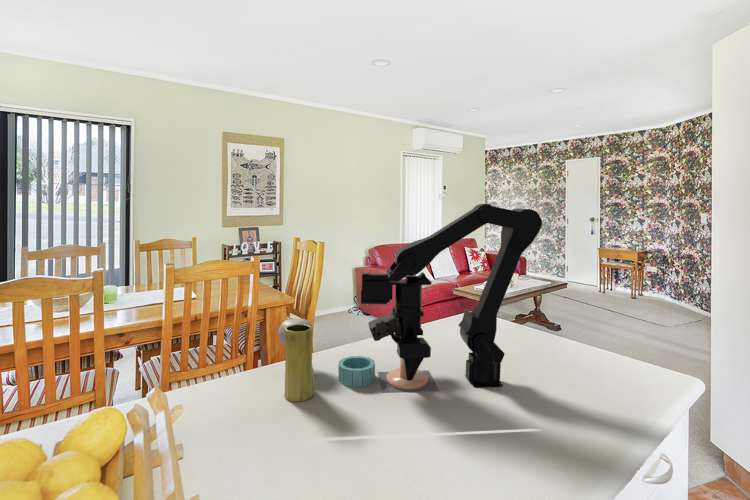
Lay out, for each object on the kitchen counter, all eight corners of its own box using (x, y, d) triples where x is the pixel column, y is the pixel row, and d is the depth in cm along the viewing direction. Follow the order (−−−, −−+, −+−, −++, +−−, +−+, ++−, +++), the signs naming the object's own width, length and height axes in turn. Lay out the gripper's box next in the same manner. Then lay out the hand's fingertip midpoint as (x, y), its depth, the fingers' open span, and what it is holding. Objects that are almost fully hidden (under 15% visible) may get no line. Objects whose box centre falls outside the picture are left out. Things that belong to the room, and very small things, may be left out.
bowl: (373, 372, 94) (373, 355, 93) (376, 387, 86) (376, 369, 86) (338, 373, 93) (338, 356, 93) (338, 389, 85) (338, 371, 85)
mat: (428, 372, 94) (428, 370, 94) (439, 392, 84) (439, 390, 84) (377, 373, 93) (377, 372, 93) (382, 394, 83) (382, 392, 83)
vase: (308, 403, 79) (307, 333, 77) (279, 400, 80) (277, 331, 79) (318, 389, 85) (317, 324, 83) (291, 386, 86) (290, 322, 85)
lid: (422, 371, 93) (423, 348, 93) (431, 389, 85) (432, 364, 84) (384, 372, 93) (384, 349, 92) (389, 391, 84) (389, 365, 83)
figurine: (288, 361, 100) (287, 314, 99) (317, 363, 99) (316, 316, 97) (274, 374, 92) (272, 323, 91) (305, 377, 91) (304, 326, 89)
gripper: (367, 294, 95) (367, 358, 97) (374, 317, 77) (374, 395, 78) (414, 294, 96) (413, 357, 98) (432, 316, 78) (430, 393, 79)
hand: (407, 373), depth 88 cm, fingers open, 6 cm apart
